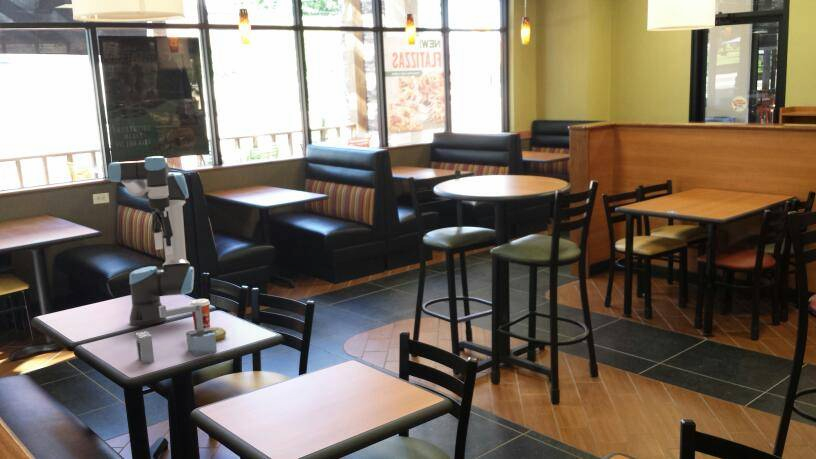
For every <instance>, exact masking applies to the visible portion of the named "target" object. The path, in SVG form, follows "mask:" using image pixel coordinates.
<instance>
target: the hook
mask: <svg viewBox="0 0 816 459" xmlns="http://www.w3.org/2000/svg"><path fill="white" fill-rule="evenodd" d="M135 342H136V351H137V359H138V361H141V364H142V365H146V364H150V363H154V362H155V358H154V356H155V354H154V349H153V348H154V347H153V338H152V334H150V333H149V332H148V331H147V330H146V331H145V330H144V331H140V332H135Z"/></svg>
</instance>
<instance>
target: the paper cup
mask: <svg viewBox="0 0 816 459" xmlns="http://www.w3.org/2000/svg"><path fill="white" fill-rule="evenodd" d="M196 304H201V307H202V318H203V328H209V327H210V328H211V316H210V314H211V313H210V304H211V302H210V300H209V299H207V298H198V299H197V298H196V299H194V300H192V301H190V306H191V305H196ZM191 313H192V318H193V320H192V321H193V325H194V330H197V327H196V317H195V312H191Z"/></svg>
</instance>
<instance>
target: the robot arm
mask: <svg viewBox="0 0 816 459" xmlns="http://www.w3.org/2000/svg"><path fill="white" fill-rule="evenodd" d="M107 173H108V179H109V181H110V182H112V183H113V182H114V183H119V182H121V184H122V185H123V186H125V190H126V191H127V192H128V194H130V196H132V197H135V198H137V199H141V200H144V201H145V200H146V201H148V207H149V208H150V209H151V217H152V218H151V230H152V232H153V236H154V239H153V240H154V246H155V248H154V249H155V250H163V249H164V255H165V260H164V263H162V269H158V267H157V266H154V265H153V266H152V265H151V266H146V267H140V268H138V269H135V270H133V271H131V272H130V273H129V283H128V284H129V287H130V294H131V295H130V296H131V305H132V306H131V309H130V314H129V324H130V325H132V326H136V327H137V326H138V327H139V326H141V327H143V326H144V327H145V326H151V325H156V324H159V323H162V322H164V321H165V320H167V317H164V318H161V317H160V313H159V306H163V303H162V302H161V297H168V296H182V295H187V294H190V293H192V291H193V289H194V284H195V283H194V282H195V281H194V280H195V267H194V266H191V263H190V262H189V260H187V253H186V238H185V227H184V226H185V225H184V214H183V213H184V211H183V206H184V205H185V204H186V203H187V202H186V199H188V198H190V197H189V195H190V194H189V190H188V185H187V182H186V177H185V174H183V173H182V172H174V171H173V172H170V165H169V164H168V163H167V161H166V158H165V157H164V156H161V155H157V156H156V155H154V156H147V157H145V158H144V160H138V161H136V160H135V161H120V162H119V161H116V162H110V163H109V164H108V165H107ZM162 234H163V235H162Z"/></svg>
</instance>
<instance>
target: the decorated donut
mask: <svg viewBox="0 0 816 459" xmlns="http://www.w3.org/2000/svg"><path fill="white" fill-rule="evenodd" d="M210 328H211V329H213V333H214V334H215V337H216V342H217V341H221V340H222V339H224V338H225V337H226V335H227V332H226V329H224V328H223V327H221V326H219V327H218V326H212V327H211V326H210Z"/></svg>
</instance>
